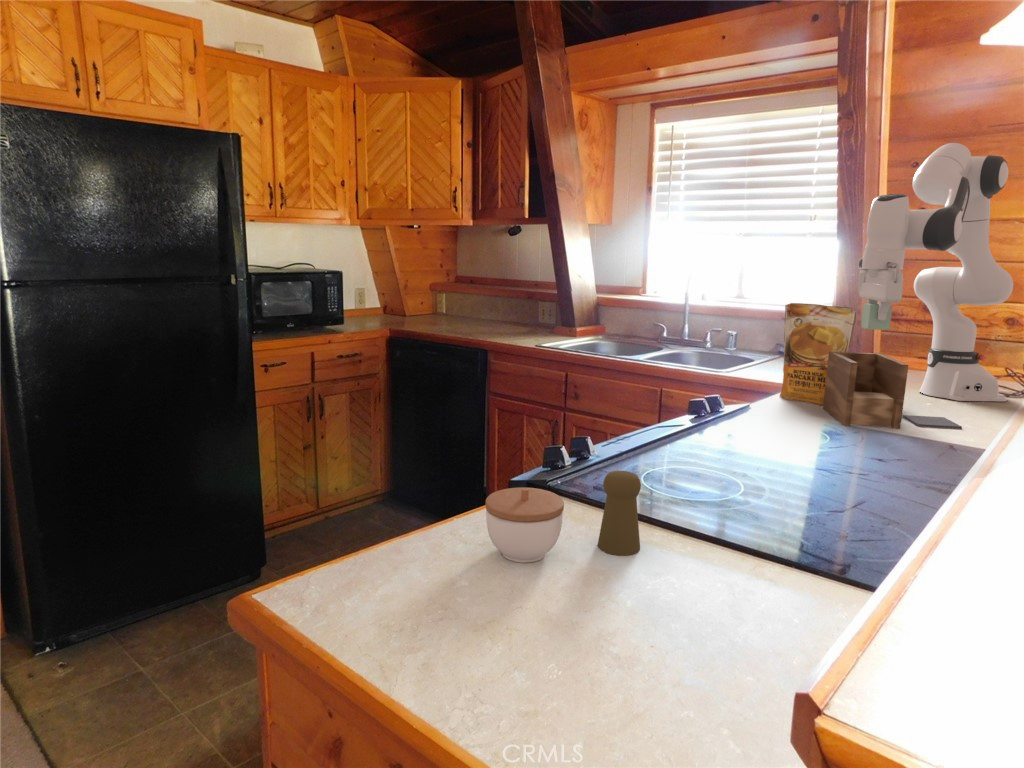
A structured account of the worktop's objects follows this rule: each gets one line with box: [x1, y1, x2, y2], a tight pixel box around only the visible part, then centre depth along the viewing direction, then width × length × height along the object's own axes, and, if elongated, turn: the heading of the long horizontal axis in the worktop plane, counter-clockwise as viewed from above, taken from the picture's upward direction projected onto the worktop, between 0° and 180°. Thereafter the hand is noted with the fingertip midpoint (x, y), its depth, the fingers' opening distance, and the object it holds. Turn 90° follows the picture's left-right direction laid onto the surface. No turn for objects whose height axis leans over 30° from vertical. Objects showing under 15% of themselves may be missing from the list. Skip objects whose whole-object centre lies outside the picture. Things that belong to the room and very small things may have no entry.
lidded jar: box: [485, 487, 565, 564], centre depth 93 cm, size 11×11×9 cm
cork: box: [597, 470, 642, 557], centre depth 96 cm, size 6×6×11 cm
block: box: [860, 302, 893, 331], centre depth 169 cm, size 5×5×6 cm
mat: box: [902, 414, 963, 430], centre depth 174 cm, size 10×10×1 cm
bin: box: [822, 351, 909, 430], centre depth 176 cm, size 13×20×16 cm, turn 170°
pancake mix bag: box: [779, 302, 857, 406], centre depth 195 cm, size 7×19×28 cm, turn 45°
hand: (876, 318), depth 169 cm, fingers closed on block, 5 cm apart
